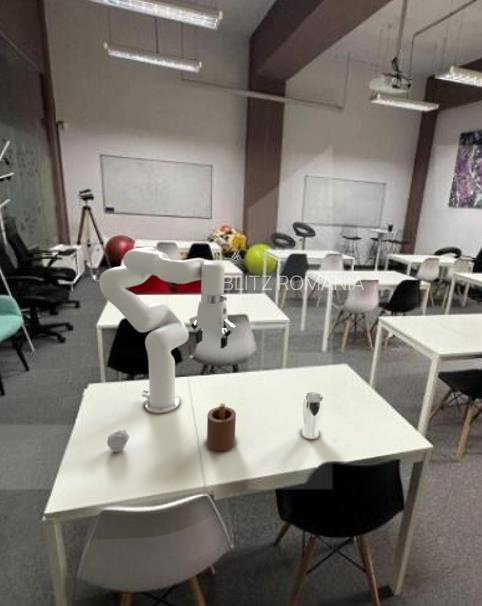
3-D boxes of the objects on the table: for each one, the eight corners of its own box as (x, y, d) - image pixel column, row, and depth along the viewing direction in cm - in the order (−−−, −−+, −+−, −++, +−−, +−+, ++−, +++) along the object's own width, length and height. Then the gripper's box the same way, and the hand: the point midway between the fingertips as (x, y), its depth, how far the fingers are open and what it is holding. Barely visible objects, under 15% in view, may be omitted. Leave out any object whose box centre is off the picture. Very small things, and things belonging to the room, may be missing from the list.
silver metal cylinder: (321, 431, 139) (325, 394, 136) (316, 442, 133) (320, 404, 129) (303, 426, 141) (307, 390, 138) (298, 437, 135) (301, 399, 131)
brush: (213, 443, 127) (213, 406, 124) (218, 437, 131) (219, 400, 127) (223, 446, 126) (224, 409, 123) (229, 440, 130) (230, 403, 126)
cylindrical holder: (201, 447, 126) (202, 418, 123) (215, 432, 134) (216, 404, 132) (226, 454, 123) (227, 425, 120) (239, 438, 132) (240, 410, 129)
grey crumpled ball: (121, 458, 118) (120, 439, 116) (102, 453, 119) (101, 434, 118) (134, 447, 123) (133, 428, 122) (116, 442, 125) (115, 423, 123)
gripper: (240, 299, 130) (238, 345, 134) (196, 292, 135) (195, 336, 139) (230, 304, 123) (228, 353, 127) (184, 296, 128) (183, 343, 132)
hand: (211, 344), depth 133 cm, fingers open, 9 cm apart
